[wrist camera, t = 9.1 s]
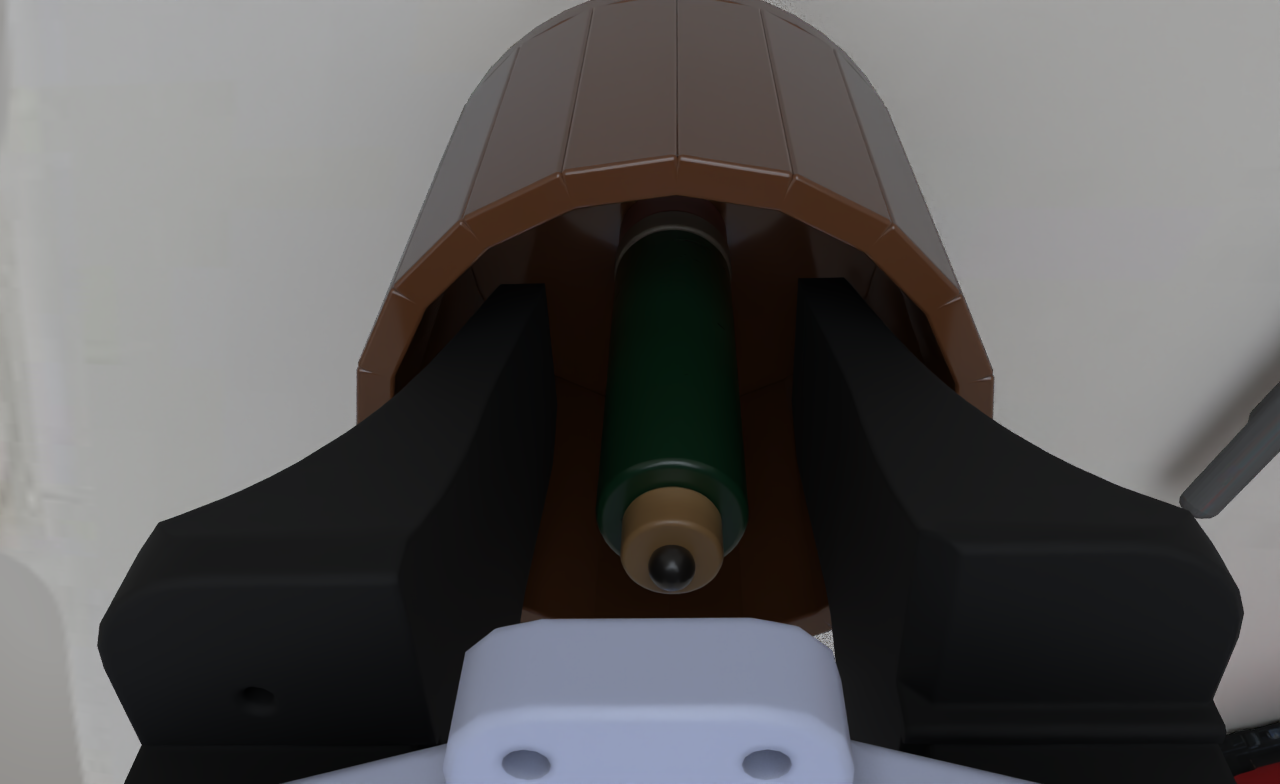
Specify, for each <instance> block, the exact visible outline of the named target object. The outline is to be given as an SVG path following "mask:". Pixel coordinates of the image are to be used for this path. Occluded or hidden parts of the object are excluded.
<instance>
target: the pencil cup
mask: <svg viewBox="0 0 1280 784" xmlns="http://www.w3.org/2000/svg"><path fill="white" fill-rule="evenodd" d="M676 195H677V196H684V197H690V198H697V199H703V200H708V201H709V202H711V203H712V204H713V205H714V206H715V207H716V209H717V210H718V211H719V213H720V214H721V216H722V218H723V220H724V223H725V226H726V232H727V244H728V248H729V251H730V257H731V269H732V279H731V295H732V307H733V320H734V332H735V345H736V358H737V370H738V383H739V395H740V408H741V420H742V433H743V446H744V458H745V471H746V483H747V496H748V508H749V518H748V524H747V527H746V530H745V532H744V534H743V536H742V538H741V540H740V541H739V543H738V544H737V545H736V547H735V548H734V549H733V550H732V551H731V552H730V553H729V554H727V555H726V556H725V557H724V558H723V563H722V566H721V568H720V570H719V572H718V573H717V575H716V576H715V577H714V578H713V580H711V581H710V582H709V583H708V584H706V585H705V586H703V587H701V588H699V589H697V590H694V591H691V592H687V593H681V594H664V593H658V592H654V591H651V590H648V589H646V588H643V587H642V586H640V585H638V584H637V583H636V582H634V581H633V580H632V579H631V578H630V577H629V576H628V574H627V573H626V571H625V569H624V568H623V565H622V563H621V558H620V556H619V555H618V554H616V553H615V552H614V551H613V550H612V549H611V548H610V547H609V545H608V544H607V543H606V542H605V540H604V538H603V536H602V535H601V533H600V531H599V528H598V525H597V521H596V500H597V488H598V477H599V465H600V453H601V442H602V430H603V419H604V407H605V396H606V384H607V372H608V361H609V349H610V338H611V326H612V314H613V303H614V291H615V280H614V268H615V258H616V252H617V248H618V245H619V234H620V227H621V224H622V221H623V219H624V217H625V215H626V213H627V212H628V210H629V209H630V208H631V207H632V206H633V205H634V204H635V203H636V202H637V201H639V200H646V199H653V198H661V197H668V196H676ZM838 277H844V278H845V279H846V280H847V281H848V282H849V283H850V284H851V285H852V286H853V287H854V288H855V290H856V291H857V292H858V293H859V295H860V296H861V297H862V298H863V299H864V301H865V302H866V303H867V304H868V305H869V306H870V308H871V309H872V310H873V311H874V312H875V314H876V315H877V316H878V317H879V318H880V319H881V320H882V322H883V323H884V324H885V325H886V326H887V327H888V328H889V329H890V330H891V332H892V333H893V334H894V335H895V336H896V337H897V338H898V339H899V340H900V341H901V342H902V343H903V344H904V345H905V346H906V347H907V348H908V349H909V350H910V351H911V352H912V353H913V354H914V355H915V356H916V358H917V359H918V360H919V361H920V362H922V363H923V364H924V365H925V366H926V367H927V368H928V369H929V370H930V371H931V372H932V373H934V374H935V375H936V376H937V377H938V378H939V379H940V380H942V381H943V382H944V383H945V384H946V385H947V386H948V387H950V388H951V389H952V390H953V391H955V392H956V393H957V394H958V395H960V396H961V397H962V398H964V399H965V400H966V401H968V402H969V403H970V404H972V405H973V406H975V407H976V408H977V409H979V410H980V411H982V412H983V413H984V414H986V415H987V416H989V417H990V418H991V419H993V407H994V375H993V369H992V366H991V363H990V361H989V358H988V356H987V353H986V351H985V348H984V346H983V343H982V341H981V338H980V336H979V333H978V331H977V328H976V326H975V323H974V321H973V318H972V315H971V313H970V310H969V308H968V305H967V303H966V300H965V298H964V295H963V293H962V290H961V288H960V285H959V283H958V281H957V278H956V276H955V273H954V271H953V268H952V266H951V263H950V261H949V258H948V256H947V254H946V251H945V249H944V246H943V244H942V241H941V239H940V236H939V234H938V231H937V229H936V227H935V224H934V222H933V219H932V217H931V214H930V212H929V209H928V207H927V204H926V202H925V200H924V197H923V195H922V192H921V190H920V187H919V185H918V182H917V180H916V177H915V175H914V172H913V170H912V168H911V165H910V163H909V160H908V158H907V155H906V153H905V150H904V148H903V145H902V143H901V141H900V138H899V136H898V133H897V131H896V128H895V126H894V123H893V121H892V118H891V116H890V114H889V111H888V109H887V107H886V106H885V105H884V102H883V101H882V99H881V98H880V96H879V95H878V93H877V92H876V90H875V89H874V87H873V85H872V84H871V82H870V81H869V79H868V78H867V76H866V75H865V74H864V73H863V72H862V71H861V69H860V68H859V67H858V66H857V65H856V64H855V63H854V61H853V60H852V59H851V58H850V57H849V56H848V55H847V53H845V52H844V51H843V50H842V49H841V48H840V47H838V46H837V45H836V44H835V43H834V42H833V41H831V40H830V39H829V38H828V37H827V36H826V35H824V34H823V33H822V32H821V31H819V30H817V29H816V28H814V27H813V26H811V25H810V24H808V23H806V22H805V21H803V20H802V19H800V18H798V17H797V16H795V15H794V14H791V13H789V12H787V11H785V10H782V9H780V8H778V7H776V6H774V5H771V4H769V3H767V2H765V1H762V0H590V1H587V2H585V3H582V4H580V5H577V6H575V7H572V8H570V9H568V10H565V11H563V12H561V13H560V14H558V15H556V16H555V17H553V18H551V19H549V20H548V21H546V22H544V23H542V24H541V25H539V26H537V27H536V28H534V29H533V30H532V31H531V32H529V33H528V34H527V35H525V36H524V37H523V38H522V39H520V40H519V41H518V42H516V43H515V44H514V45H513V46H511V47H510V48H509V49H508V50H507V51H506V52H505V53H504V54H503V55H502V57H501V58H500V59H499V60H498V61H497V62H496V63H495V64H494V65H493V66H492V67H491V68H490V69H489V70H488V72H487V73H486V74H485V76H484V77H483V79H482V80H481V81H480V83H479V84H478V85H477V87H476V88H475V90H474V91H473V92H472V94H471V96H470V98H469V99H468V101H467V103H466V104H465V105H464V107H463V110H462V112H461V114H460V117H459V119H458V121H457V123H456V126H455V128H454V131H453V133H452V135H451V138H450V140H449V142H448V145H447V147H446V149H445V152H444V154H443V156H442V159H441V161H440V163H439V166H438V168H437V171H436V173H435V176H434V178H433V181H432V183H431V185H430V188H429V190H428V193H427V195H426V198H425V200H424V203H423V205H422V207H421V210H420V212H419V215H418V217H417V220H416V222H415V225H414V227H413V229H412V232H411V234H410V237H409V239H408V242H407V244H406V247H405V249H404V251H403V254H402V256H401V259H400V261H399V264H398V266H397V269H396V271H395V273H394V276H393V278H392V281H391V283H390V286H389V288H388V291H387V293H386V295H385V298H384V300H383V303H382V305H381V308H380V310H379V313H378V315H377V317H376V320H375V322H374V325H373V327H372V330H371V332H370V335H369V337H368V339H367V342H366V344H365V347H364V349H363V352H362V354H361V357H360V359H359V361H358V368H357V401H356V425H358V424H359V423H360V422H362V421H363V420H364V419H366V418H367V417H368V416H370V415H371V414H372V413H374V412H375V411H376V410H378V409H379V408H380V407H381V406H383V405H384V404H385V403H386V402H388V401H389V400H390V399H391V398H392V397H394V396H395V395H396V394H397V393H398V392H400V391H401V390H402V389H403V388H404V387H405V386H406V385H407V384H408V383H409V382H410V381H411V380H412V379H413V378H414V377H415V376H417V375H418V374H419V373H420V372H421V371H422V370H423V369H424V368H425V367H426V366H427V365H428V364H429V363H430V362H431V361H432V360H433V359H434V358H435V357H436V356H437V354H438V353H439V352H440V351H441V350H442V349H443V348H444V347H445V346H446V345H447V344H448V343H449V342H450V341H451V339H452V338H453V337H454V336H455V335H456V334H457V333H458V332H459V331H460V330H461V328H462V327H463V326H464V325H465V324H466V323H467V322H468V320H469V319H470V318H471V317H472V316H473V315H474V313H475V312H476V311H477V310H478V309H479V307H480V306H481V305H482V304H483V303H484V302H485V300H486V299H487V298H488V297H489V296H490V295H491V294H492V292H493V291H494V290H495V289H496V288H497V287H498V286H499V285H500V284H539V283H545V289H546V299H547V309H548V319H549V328H550V338H551V348H552V357H553V367H554V377H555V386H556V396H557V418H556V431H555V444H554V456H553V466H552V471H551V476H550V480H549V485H548V490H547V494H546V499H545V504H544V508H543V513H542V517H541V522H540V527H539V531H538V536H537V540H536V545H535V549H534V554H533V558H532V563H531V567H530V572H529V576H528V581H527V585H526V590H525V596H524V602H523V608H522V614H521V621H520V623H525V622H530V621H535V620H540V619H605V618H756V619H761V620H767V621H773V622H778V623H784V624H790V625H794V626H798V627H800V628H801V629H803V630H804V631H806V632H807V633H809V634H810V635H811V636H815V635H819V634H822V633H825V632H828V631H830V630H832V623H831V615H830V609H829V603H828V598H827V592H826V587H825V582H824V578H823V574H822V569H821V565H820V561H819V556H818V552H817V547H816V543H815V539H814V534H813V530H812V526H811V521H810V517H809V513H808V508H807V504H806V499H805V495H804V490H803V486H802V481H801V477H800V472H799V468H798V463H797V455H796V444H795V434H794V422H793V410H792V387H793V368H794V349H795V331H796V312H797V293H798V278H838Z"/></svg>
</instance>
